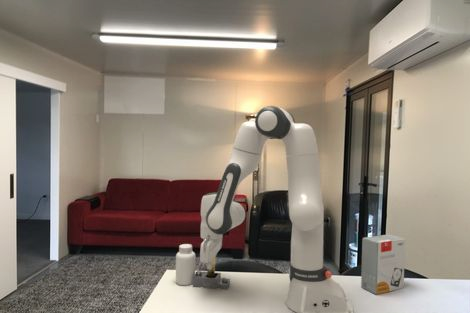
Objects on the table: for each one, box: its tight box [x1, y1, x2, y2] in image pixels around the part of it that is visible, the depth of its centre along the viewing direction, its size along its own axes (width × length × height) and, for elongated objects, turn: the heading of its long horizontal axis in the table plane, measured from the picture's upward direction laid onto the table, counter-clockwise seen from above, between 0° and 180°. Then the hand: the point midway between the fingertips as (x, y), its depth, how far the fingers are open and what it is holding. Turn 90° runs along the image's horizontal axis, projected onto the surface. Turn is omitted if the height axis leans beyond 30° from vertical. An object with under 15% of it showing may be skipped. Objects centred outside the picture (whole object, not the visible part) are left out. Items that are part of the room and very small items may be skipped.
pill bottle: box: [175, 243, 196, 286], centre depth 129 cm, size 8×8×15 cm
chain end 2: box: [202, 277, 231, 291], centre depth 125 cm, size 10×6×3 cm, turn 79°
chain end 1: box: [192, 270, 222, 288], centre depth 126 cm, size 10×6×5 cm, turn 79°
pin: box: [206, 256, 216, 277], centre depth 126 cm, size 3×3×8 cm
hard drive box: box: [360, 233, 406, 295], centre depth 123 cm, size 16×8×20 cm, turn 114°
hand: (211, 266), depth 126 cm, fingers closed on pin, 3 cm apart
